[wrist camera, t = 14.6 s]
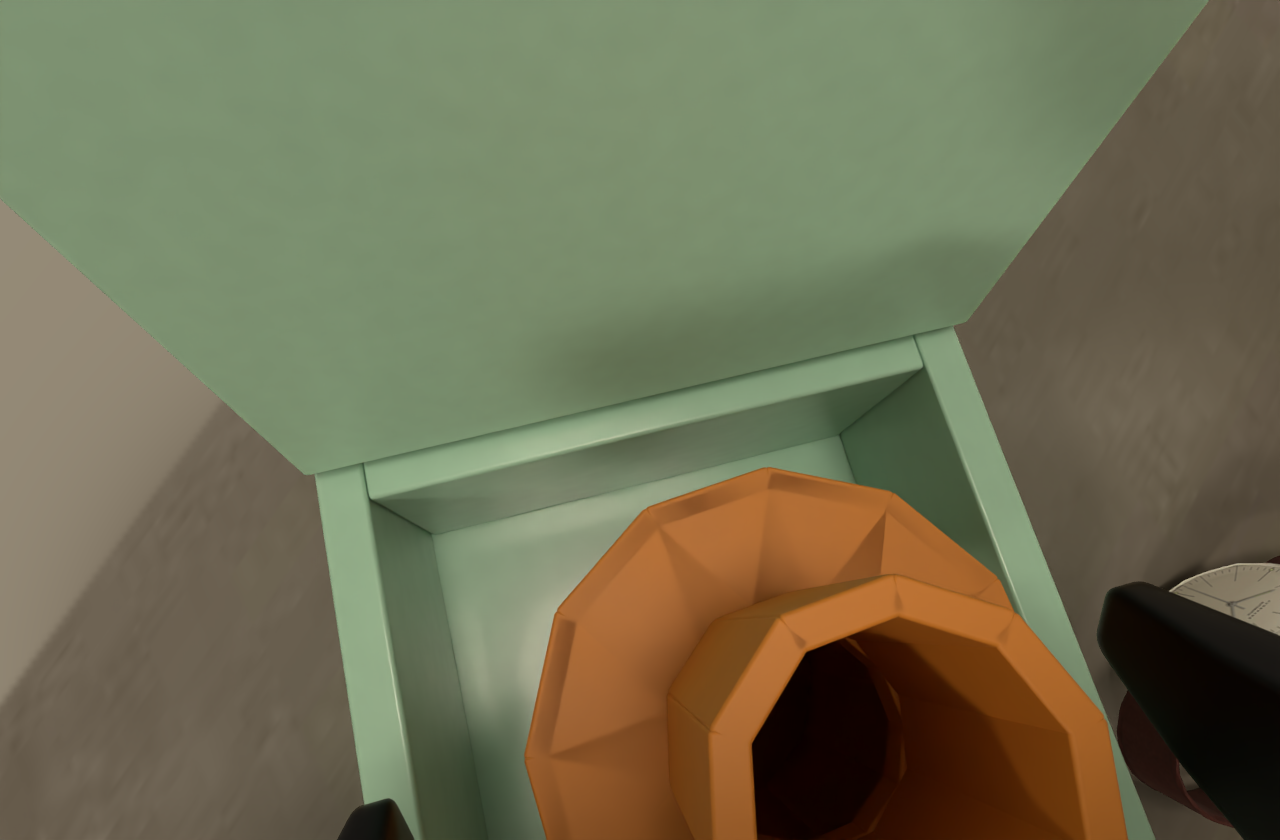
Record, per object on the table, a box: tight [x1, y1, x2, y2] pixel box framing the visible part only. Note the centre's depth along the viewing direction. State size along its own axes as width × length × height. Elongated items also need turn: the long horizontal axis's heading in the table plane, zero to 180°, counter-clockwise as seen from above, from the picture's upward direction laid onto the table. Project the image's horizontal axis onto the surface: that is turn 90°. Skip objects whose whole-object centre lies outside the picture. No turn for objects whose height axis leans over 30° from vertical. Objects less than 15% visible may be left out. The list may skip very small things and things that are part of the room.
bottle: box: [524, 467, 1128, 840], centre depth 11 cm, size 6×6×12 cm
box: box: [315, 325, 1156, 840], centre depth 14 cm, size 11×12×6 cm
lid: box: [0, 0, 1209, 475], centre depth 8 cm, size 11×12×1 cm
